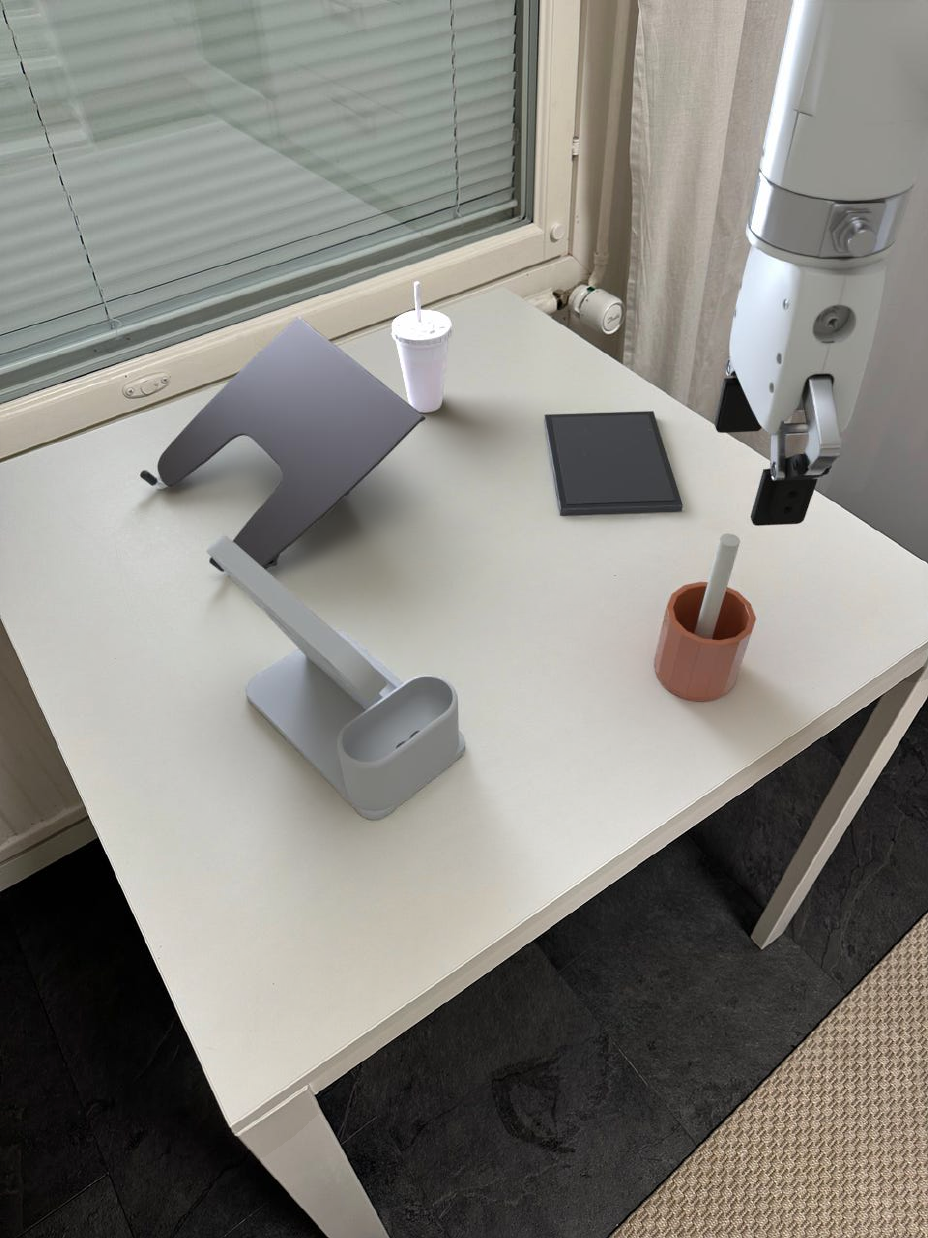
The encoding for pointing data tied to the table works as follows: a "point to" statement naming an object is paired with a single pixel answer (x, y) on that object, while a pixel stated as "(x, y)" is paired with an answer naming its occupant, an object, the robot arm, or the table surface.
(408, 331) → the smoothie
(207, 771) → the table surface
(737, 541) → the stylus
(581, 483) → the tablet
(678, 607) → the pencil cup
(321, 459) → the laptop tray
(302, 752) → the phone holder
